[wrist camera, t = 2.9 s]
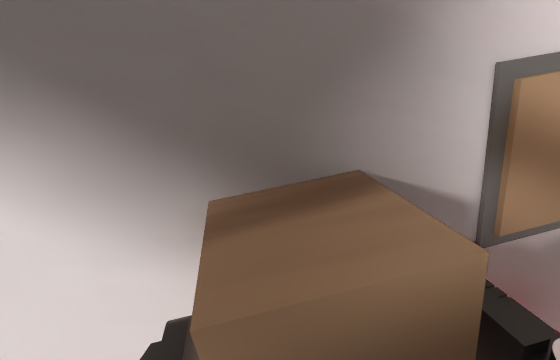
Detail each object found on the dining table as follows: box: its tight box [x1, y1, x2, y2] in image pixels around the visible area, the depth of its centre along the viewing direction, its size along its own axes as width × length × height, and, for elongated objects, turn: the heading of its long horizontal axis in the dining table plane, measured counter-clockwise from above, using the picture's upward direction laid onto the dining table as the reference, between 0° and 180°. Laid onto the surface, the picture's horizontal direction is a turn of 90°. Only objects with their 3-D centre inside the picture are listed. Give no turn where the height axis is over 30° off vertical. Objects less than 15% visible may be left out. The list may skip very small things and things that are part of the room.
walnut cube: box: [190, 170, 489, 360], centre depth 9 cm, size 6×6×6 cm
